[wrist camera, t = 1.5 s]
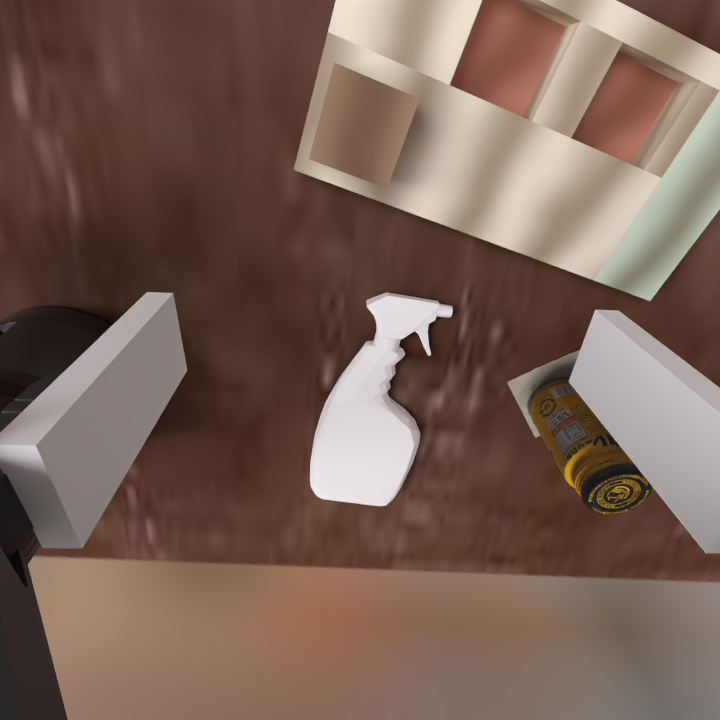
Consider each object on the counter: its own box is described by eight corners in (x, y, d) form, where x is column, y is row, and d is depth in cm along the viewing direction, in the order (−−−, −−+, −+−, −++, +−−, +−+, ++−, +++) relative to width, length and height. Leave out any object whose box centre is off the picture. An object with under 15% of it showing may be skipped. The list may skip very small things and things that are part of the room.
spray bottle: (305, 478, 49) (345, 278, 37) (396, 491, 50) (465, 301, 38) (302, 499, 46) (345, 290, 34) (399, 511, 48) (473, 315, 36)
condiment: (534, 436, 46) (587, 533, 35) (506, 381, 42) (556, 472, 32) (602, 408, 44) (679, 501, 34) (579, 347, 40) (658, 432, 30)
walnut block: (313, 152, 29) (308, 159, 25) (336, 67, 26) (334, 62, 23) (382, 178, 30) (387, 188, 26) (411, 99, 27) (419, 98, 24)
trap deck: (297, 165, 31) (293, 169, 29) (366, -109, 24) (368, -129, 22) (632, 289, 37) (650, 301, 35) (771, 98, 30) (803, 98, 27)
